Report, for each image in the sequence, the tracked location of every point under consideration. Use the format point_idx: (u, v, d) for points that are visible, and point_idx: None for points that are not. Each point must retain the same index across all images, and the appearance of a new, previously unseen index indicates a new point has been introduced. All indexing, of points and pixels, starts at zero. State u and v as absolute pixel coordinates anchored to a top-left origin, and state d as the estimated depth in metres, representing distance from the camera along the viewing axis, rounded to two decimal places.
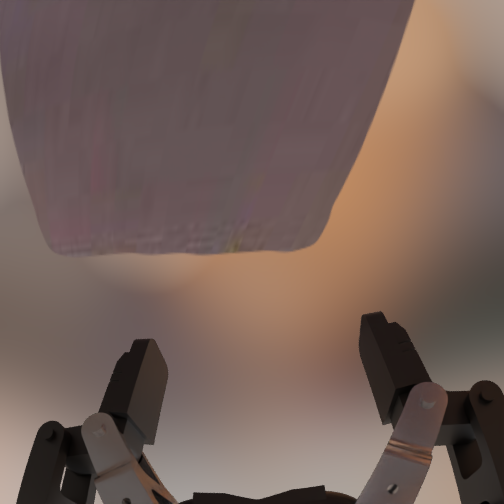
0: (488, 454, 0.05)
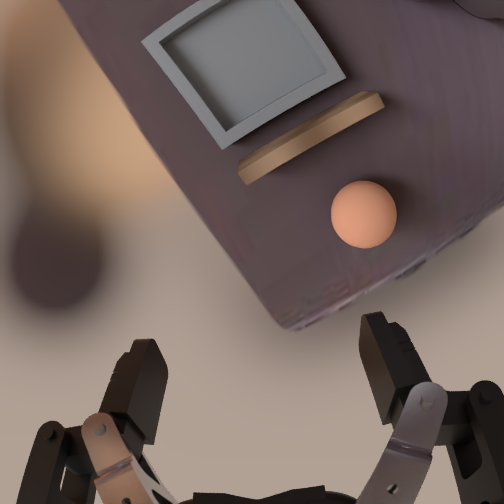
0: (488, 454, 0.05)
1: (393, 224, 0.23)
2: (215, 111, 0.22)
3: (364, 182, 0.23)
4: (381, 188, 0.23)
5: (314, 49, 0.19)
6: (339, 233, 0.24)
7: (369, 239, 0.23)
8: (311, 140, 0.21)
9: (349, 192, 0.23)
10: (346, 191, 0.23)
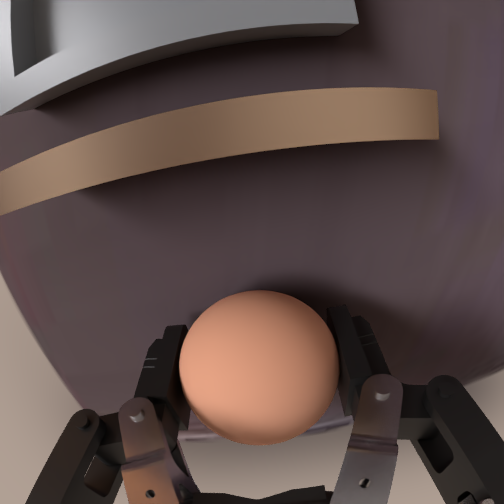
0: (458, 448, 0.05)
1: (313, 424, 0.09)
2: (36, 33, 0.06)
3: (288, 310, 0.09)
4: (324, 340, 0.09)
5: None
6: (183, 392, 0.10)
7: (241, 442, 0.08)
8: (166, 148, 0.06)
9: (236, 326, 0.09)
10: (231, 317, 0.09)
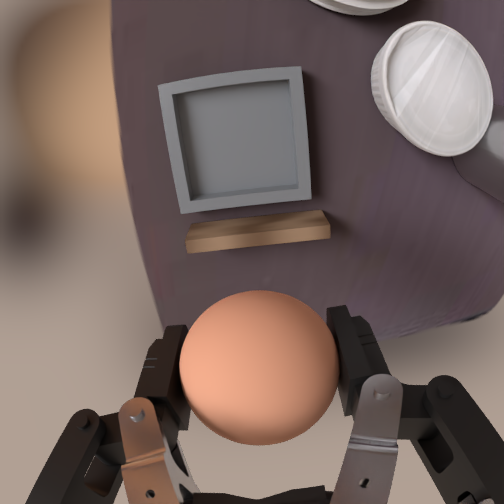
0: (458, 448, 0.05)
1: None
2: (190, 176, 0.26)
3: (288, 310, 0.09)
4: (324, 341, 0.09)
5: (297, 164, 0.24)
6: (184, 393, 0.10)
7: (241, 442, 0.08)
8: (255, 241, 0.26)
9: (236, 326, 0.09)
10: (230, 317, 0.09)
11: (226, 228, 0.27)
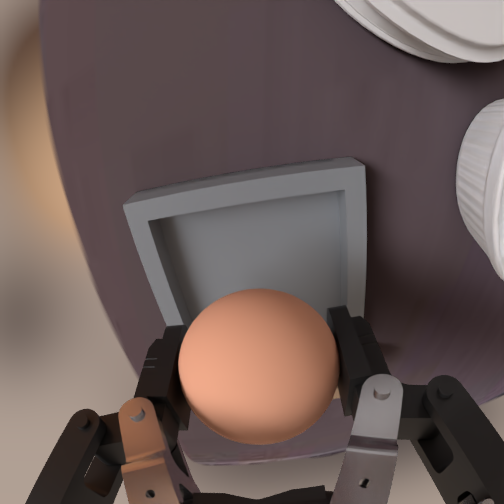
0: (458, 448, 0.05)
1: (313, 423, 0.09)
2: None
3: (288, 308, 0.09)
4: (324, 339, 0.09)
5: None
6: (183, 391, 0.10)
7: (241, 441, 0.08)
8: None
9: (236, 325, 0.09)
10: (230, 315, 0.09)
11: None
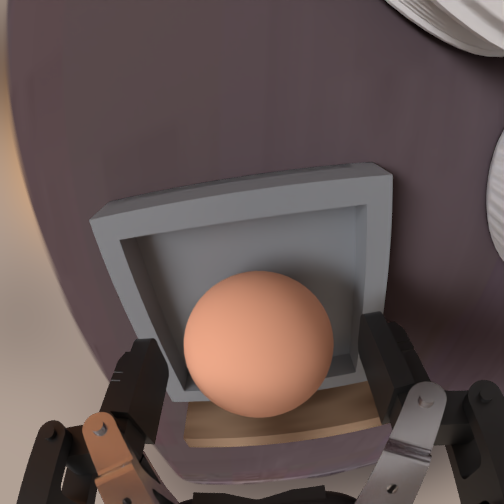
0: (487, 454, 0.05)
1: (309, 396, 0.10)
2: (179, 351, 0.15)
3: (285, 287, 0.10)
4: (318, 315, 0.10)
5: None
6: (187, 367, 0.11)
7: (241, 413, 0.09)
8: (285, 439, 0.15)
9: (237, 300, 0.10)
10: (232, 292, 0.10)
11: (242, 416, 0.16)
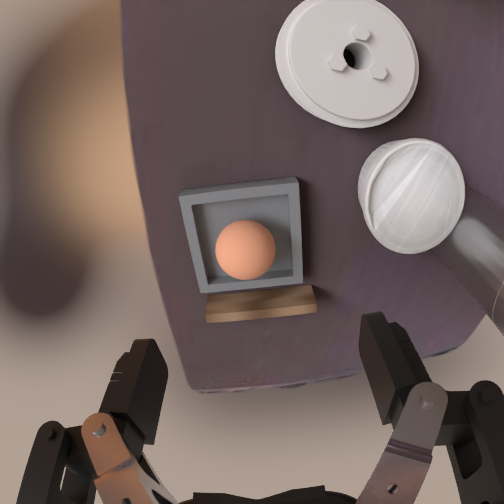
0: (488, 454, 0.05)
1: (265, 268, 0.28)
2: (207, 263, 0.33)
3: (255, 224, 0.28)
4: (267, 234, 0.28)
5: (293, 259, 0.31)
6: (216, 257, 0.28)
7: (238, 272, 0.27)
8: (259, 315, 0.33)
9: (238, 227, 0.27)
10: (236, 225, 0.28)
11: (236, 303, 0.34)
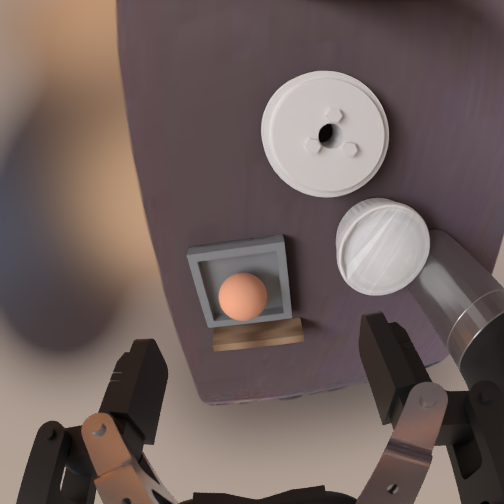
0: (488, 454, 0.05)
1: (258, 312, 0.34)
2: (212, 304, 0.40)
3: (250, 278, 0.34)
4: (260, 286, 0.34)
5: (282, 300, 0.38)
6: (220, 304, 0.35)
7: (237, 317, 0.34)
8: (256, 345, 0.39)
9: (236, 281, 0.34)
10: (234, 279, 0.34)
11: (237, 335, 0.41)
